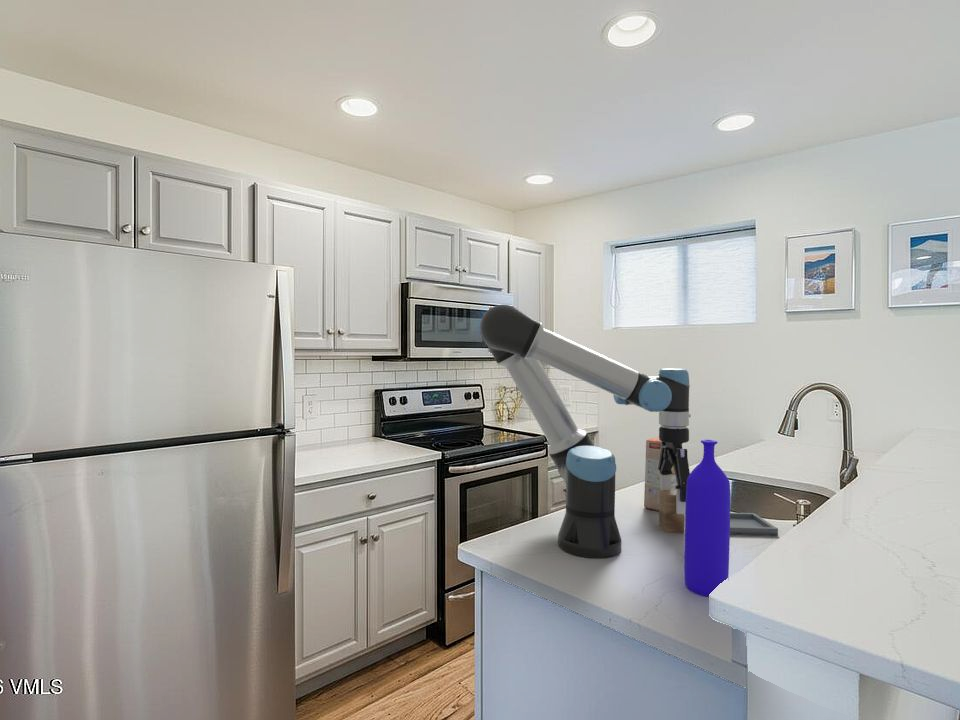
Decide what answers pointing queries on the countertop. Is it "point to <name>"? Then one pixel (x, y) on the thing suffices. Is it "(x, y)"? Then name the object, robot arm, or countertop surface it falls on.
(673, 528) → the walnut block
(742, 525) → the slate tray
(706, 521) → the bottle
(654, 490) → the cracker box
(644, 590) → the countertop surface
